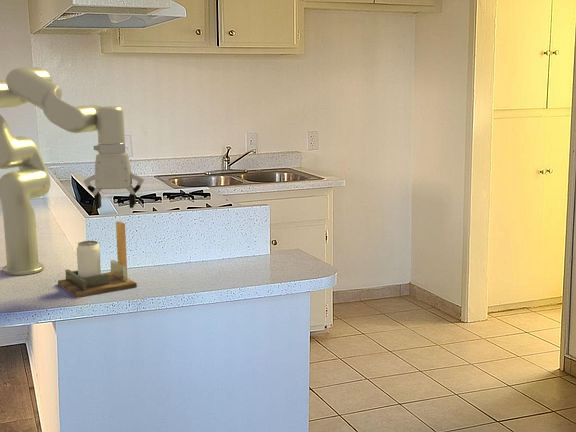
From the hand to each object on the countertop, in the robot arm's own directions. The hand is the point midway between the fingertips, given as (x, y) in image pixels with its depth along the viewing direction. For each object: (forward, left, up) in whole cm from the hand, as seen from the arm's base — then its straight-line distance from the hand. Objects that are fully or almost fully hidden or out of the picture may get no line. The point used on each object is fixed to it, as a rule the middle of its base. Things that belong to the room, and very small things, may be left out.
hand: (115, 207), depth 229 cm
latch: (0, +1, -21) cm, 21 cm away
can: (0, -9, -22) cm, 23 cm away
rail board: (0, -8, -23) cm, 24 cm away
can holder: (0, -9, -21) cm, 23 cm away
